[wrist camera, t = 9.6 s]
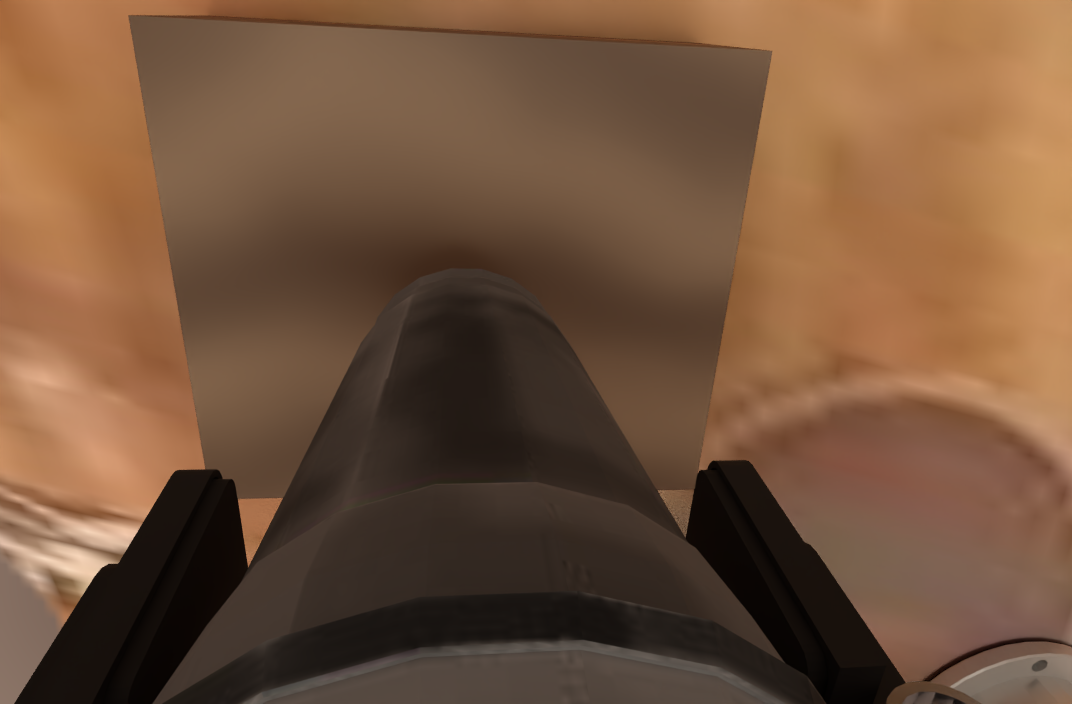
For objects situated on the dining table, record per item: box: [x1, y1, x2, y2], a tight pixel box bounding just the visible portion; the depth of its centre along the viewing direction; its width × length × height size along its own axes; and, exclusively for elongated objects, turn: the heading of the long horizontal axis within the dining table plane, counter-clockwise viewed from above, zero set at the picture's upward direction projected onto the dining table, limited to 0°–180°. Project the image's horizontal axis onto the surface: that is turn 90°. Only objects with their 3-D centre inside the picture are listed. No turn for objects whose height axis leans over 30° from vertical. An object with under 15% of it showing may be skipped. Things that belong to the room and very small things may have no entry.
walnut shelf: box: [128, 15, 772, 499], centre depth 23 cm, size 14×16×6 cm
